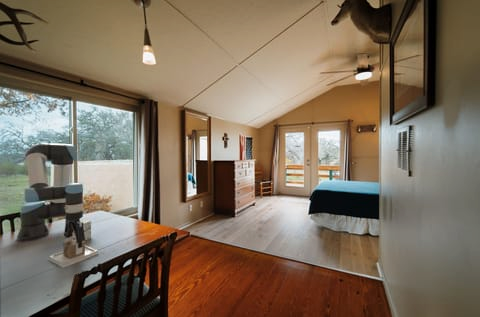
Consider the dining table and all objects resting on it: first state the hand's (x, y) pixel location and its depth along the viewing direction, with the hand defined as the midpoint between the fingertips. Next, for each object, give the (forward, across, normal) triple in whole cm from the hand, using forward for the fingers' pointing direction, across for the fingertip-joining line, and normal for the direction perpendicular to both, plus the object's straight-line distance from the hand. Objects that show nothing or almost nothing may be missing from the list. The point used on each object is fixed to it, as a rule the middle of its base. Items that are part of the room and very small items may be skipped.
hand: (74, 251), depth 110 cm
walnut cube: (+2, 0, 0) cm, 2 cm away
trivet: (+3, 0, 0) cm, 3 cm away
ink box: (+3, -20, +13) cm, 25 cm away
